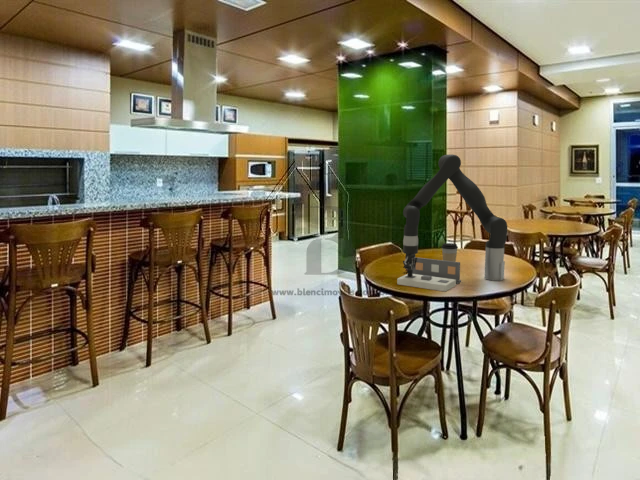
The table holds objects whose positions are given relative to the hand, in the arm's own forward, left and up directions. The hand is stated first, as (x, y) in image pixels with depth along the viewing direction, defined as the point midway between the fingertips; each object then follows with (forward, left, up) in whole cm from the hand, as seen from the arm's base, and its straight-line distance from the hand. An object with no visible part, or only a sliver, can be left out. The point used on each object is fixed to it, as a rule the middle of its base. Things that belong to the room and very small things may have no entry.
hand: (410, 276), depth 235 cm
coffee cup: (-6, -40, -3) cm, 41 cm away
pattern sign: (-9, -12, -3) cm, 15 cm away
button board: (-9, 0, -3) cm, 10 cm away
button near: (-18, 0, -3) cm, 18 cm away
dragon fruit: (+8, -21, -4) cm, 23 cm away
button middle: (-9, 0, -2) cm, 9 cm away
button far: (0, 0, -3) cm, 3 cm away
